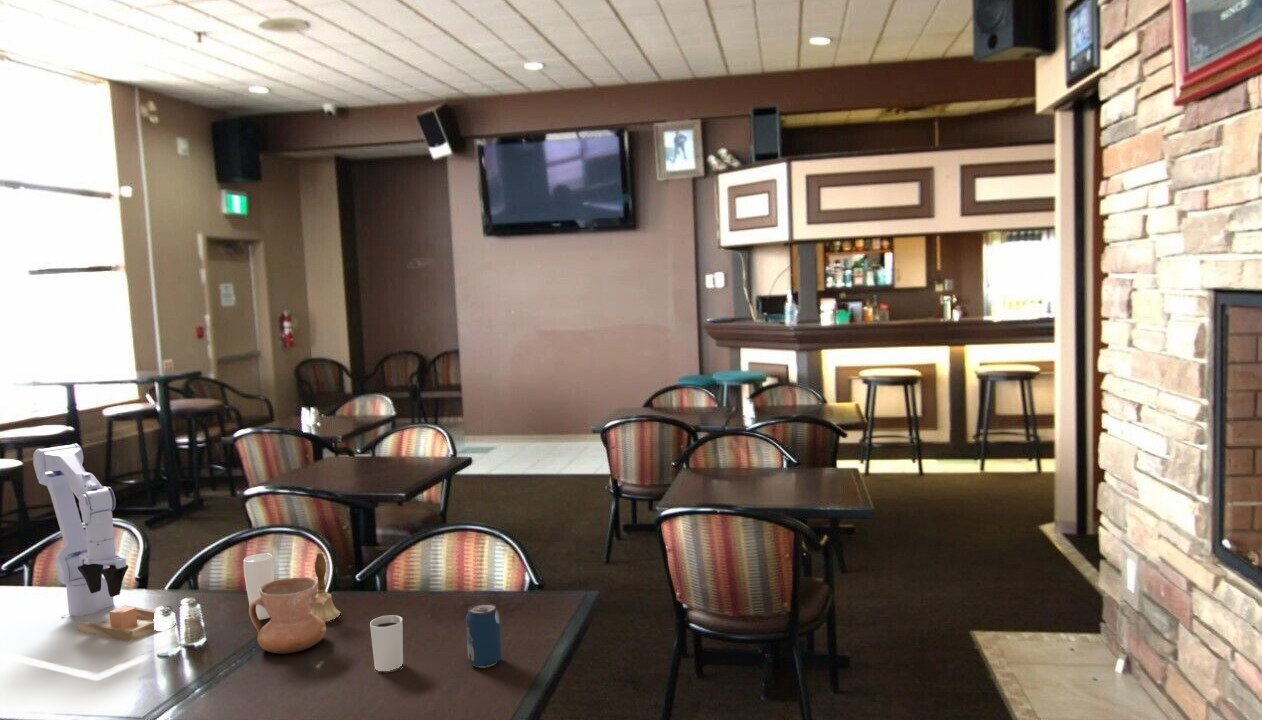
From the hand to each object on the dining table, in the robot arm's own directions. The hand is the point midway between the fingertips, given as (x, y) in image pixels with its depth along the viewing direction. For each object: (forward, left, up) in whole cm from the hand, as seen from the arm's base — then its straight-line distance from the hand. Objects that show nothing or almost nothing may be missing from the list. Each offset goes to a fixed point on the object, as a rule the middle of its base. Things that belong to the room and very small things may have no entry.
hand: (105, 593), depth 213 cm
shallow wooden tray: (0, +7, -8) cm, 11 cm away
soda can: (-15, +99, -9) cm, 101 cm away
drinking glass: (-18, +31, -9) cm, 37 cm away
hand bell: (-23, +46, -9) cm, 53 cm away
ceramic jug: (-7, +52, -9) cm, 53 cm away
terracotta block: (0, +6, -7) cm, 9 cm away
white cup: (-6, +81, -9) cm, 82 cm away
